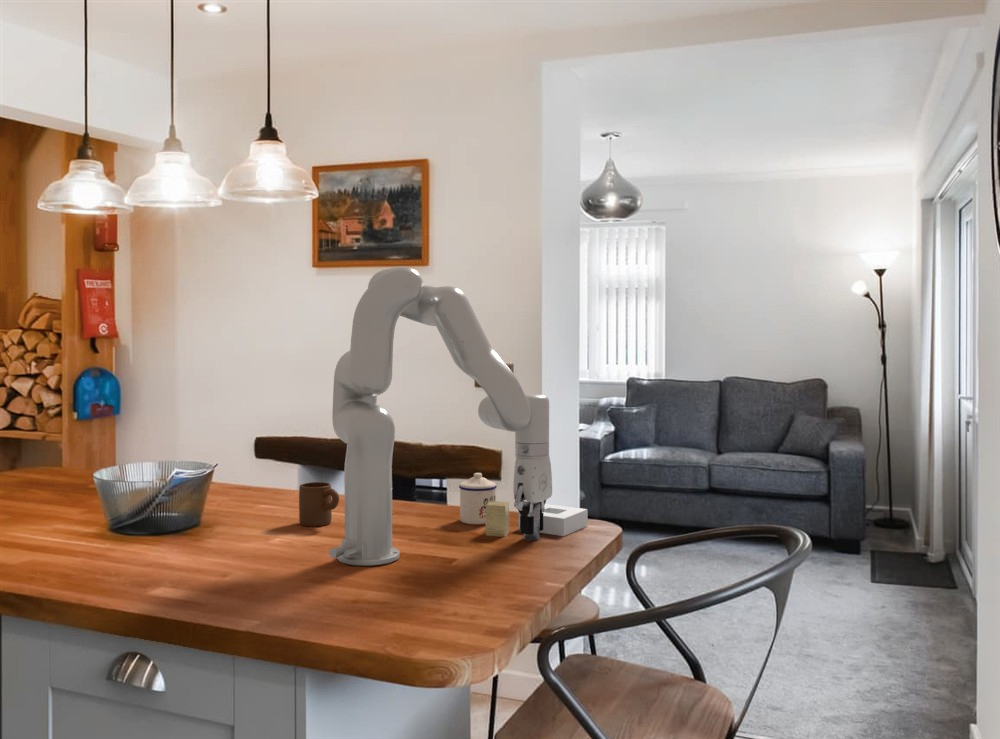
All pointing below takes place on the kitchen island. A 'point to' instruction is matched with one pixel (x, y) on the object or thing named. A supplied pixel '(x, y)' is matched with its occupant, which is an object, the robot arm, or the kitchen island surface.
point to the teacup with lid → (476, 499)
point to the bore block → (562, 519)
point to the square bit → (497, 518)
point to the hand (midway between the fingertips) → (531, 530)
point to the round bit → (536, 523)
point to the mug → (316, 503)
